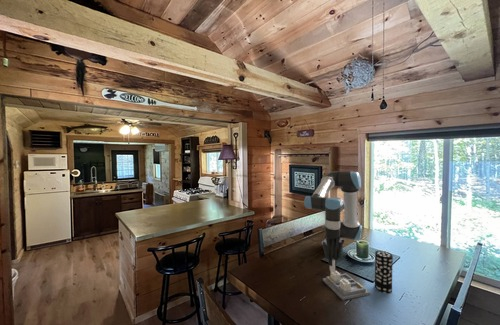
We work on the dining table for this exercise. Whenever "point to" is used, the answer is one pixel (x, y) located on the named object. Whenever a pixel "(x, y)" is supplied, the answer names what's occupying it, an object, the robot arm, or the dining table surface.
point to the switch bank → (355, 291)
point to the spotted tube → (383, 271)
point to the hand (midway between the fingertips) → (332, 271)
